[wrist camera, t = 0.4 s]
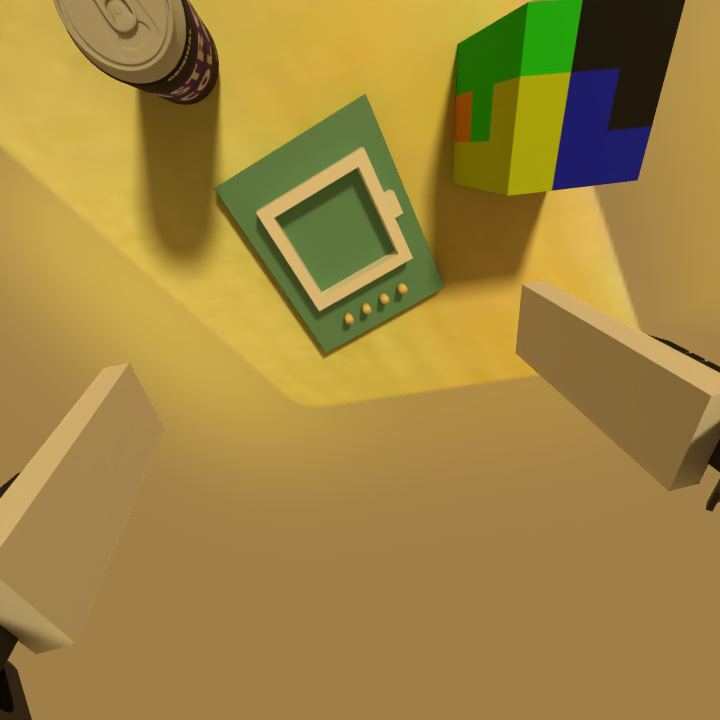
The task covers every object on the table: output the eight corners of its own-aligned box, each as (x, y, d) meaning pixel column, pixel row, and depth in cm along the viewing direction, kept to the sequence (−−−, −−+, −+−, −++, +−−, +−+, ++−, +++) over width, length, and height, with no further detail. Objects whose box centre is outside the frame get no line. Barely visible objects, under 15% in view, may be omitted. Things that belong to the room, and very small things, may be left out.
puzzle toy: (552, 172, 36) (637, 180, 27) (452, 183, 34) (507, 195, 26) (574, 35, 30) (687, -8, 22) (457, 44, 29) (528, 2, 21)
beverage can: (172, 120, 29) (109, 105, 18) (116, 31, 26) (3, -46, 15) (236, 82, 28) (208, 45, 18) (186, -13, 25) (118, -122, 15)
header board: (216, 187, 31) (211, 190, 29) (362, 95, 30) (369, 91, 28) (325, 347, 40) (327, 360, 38) (440, 283, 39) (450, 291, 37)
